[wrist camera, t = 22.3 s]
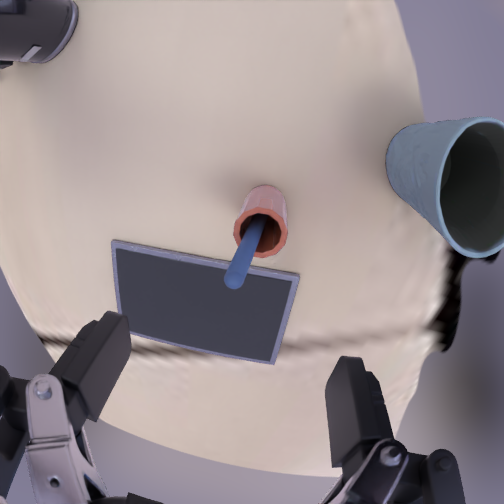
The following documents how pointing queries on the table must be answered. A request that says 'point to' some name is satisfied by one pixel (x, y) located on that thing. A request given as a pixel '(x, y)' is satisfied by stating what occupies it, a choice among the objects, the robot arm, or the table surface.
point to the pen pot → (276, 225)
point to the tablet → (202, 302)
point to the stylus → (245, 252)
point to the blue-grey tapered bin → (454, 179)
